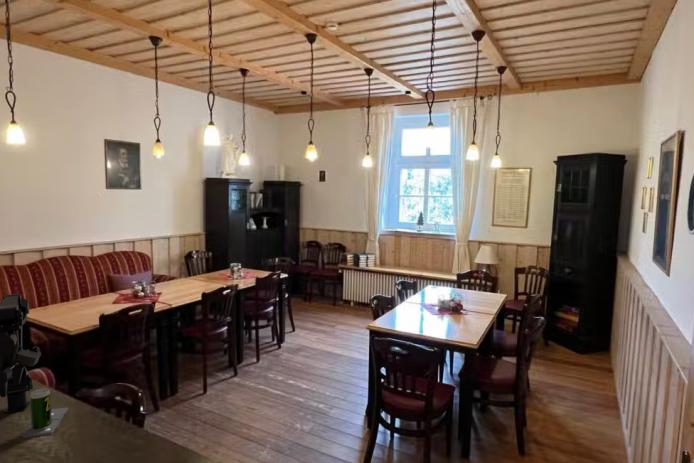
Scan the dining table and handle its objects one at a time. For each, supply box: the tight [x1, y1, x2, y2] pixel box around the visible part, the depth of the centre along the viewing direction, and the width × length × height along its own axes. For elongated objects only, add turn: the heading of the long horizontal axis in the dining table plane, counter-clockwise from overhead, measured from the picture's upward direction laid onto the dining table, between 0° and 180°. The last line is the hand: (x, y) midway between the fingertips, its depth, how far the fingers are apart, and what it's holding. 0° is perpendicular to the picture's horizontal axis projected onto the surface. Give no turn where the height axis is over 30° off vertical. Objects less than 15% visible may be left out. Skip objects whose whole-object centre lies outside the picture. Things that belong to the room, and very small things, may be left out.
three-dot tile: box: [22, 419, 62, 439], centre depth 140 cm, size 8×8×1 cm
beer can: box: [29, 387, 52, 431], centre depth 139 cm, size 5×5×12 cm
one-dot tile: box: [51, 407, 69, 420], centre depth 148 cm, size 8×8×1 cm
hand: (10, 390), depth 141 cm, fingers open, 9 cm apart
